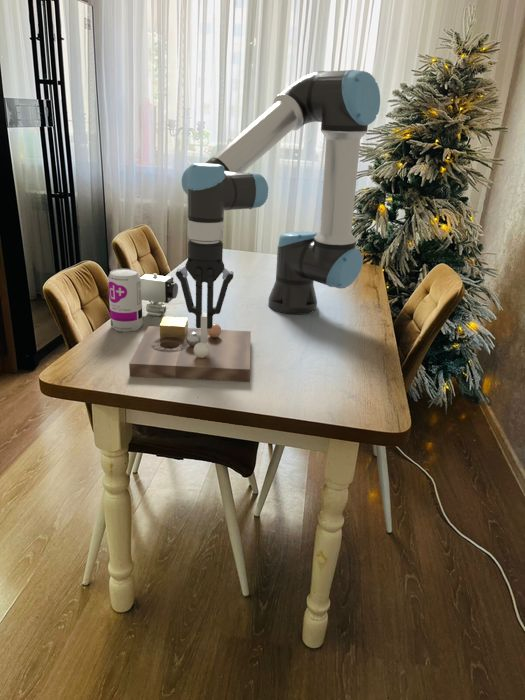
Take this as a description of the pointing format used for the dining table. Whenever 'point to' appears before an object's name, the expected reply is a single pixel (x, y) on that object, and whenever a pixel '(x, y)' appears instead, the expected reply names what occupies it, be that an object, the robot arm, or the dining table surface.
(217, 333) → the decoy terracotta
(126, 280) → the supplement can
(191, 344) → the steel ball
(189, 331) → the board
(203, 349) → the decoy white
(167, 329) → the block
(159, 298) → the pneumatic valve
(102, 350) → the dining table surface
